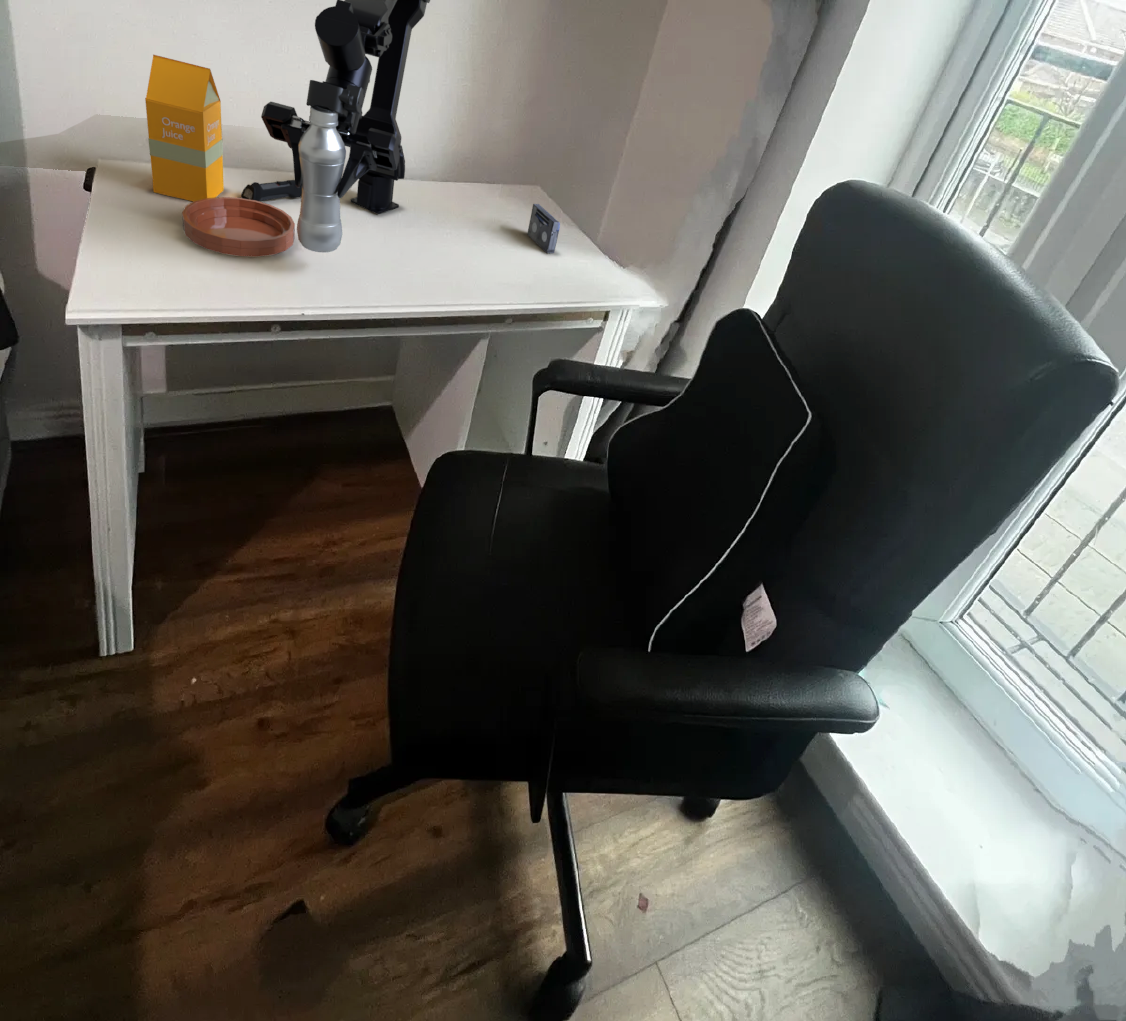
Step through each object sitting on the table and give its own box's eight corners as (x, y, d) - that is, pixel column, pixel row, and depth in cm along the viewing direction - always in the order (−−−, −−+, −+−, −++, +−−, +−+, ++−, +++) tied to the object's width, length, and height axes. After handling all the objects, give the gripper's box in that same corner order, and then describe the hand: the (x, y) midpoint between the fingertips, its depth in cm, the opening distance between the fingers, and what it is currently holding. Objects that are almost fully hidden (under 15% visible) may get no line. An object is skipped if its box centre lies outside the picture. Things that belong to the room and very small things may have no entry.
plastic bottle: (349, 248, 126) (358, 111, 113) (324, 262, 120) (331, 120, 108) (313, 234, 126) (318, 96, 114) (287, 247, 121) (288, 104, 109)
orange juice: (207, 205, 135) (201, 74, 123) (152, 192, 134) (140, 59, 122) (224, 189, 141) (220, 63, 129) (172, 177, 140) (162, 49, 128)
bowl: (239, 207, 137) (239, 189, 136) (315, 243, 134) (316, 225, 132) (159, 229, 125) (158, 209, 123) (240, 269, 121) (240, 250, 120)
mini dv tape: (554, 253, 153) (561, 222, 149) (547, 253, 152) (554, 222, 148) (533, 234, 158) (540, 203, 154) (527, 234, 157) (533, 203, 153)
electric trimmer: (328, 198, 149) (329, 181, 147) (252, 206, 139) (252, 188, 137) (316, 190, 151) (316, 173, 149) (239, 198, 140) (239, 179, 138)
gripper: (265, 36, 110) (235, 144, 108) (403, 73, 111) (375, 180, 109) (285, 86, 121) (258, 185, 119) (410, 119, 122) (385, 217, 120)
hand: (317, 191), depth 117 cm, fingers closed on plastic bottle, 6 cm apart
